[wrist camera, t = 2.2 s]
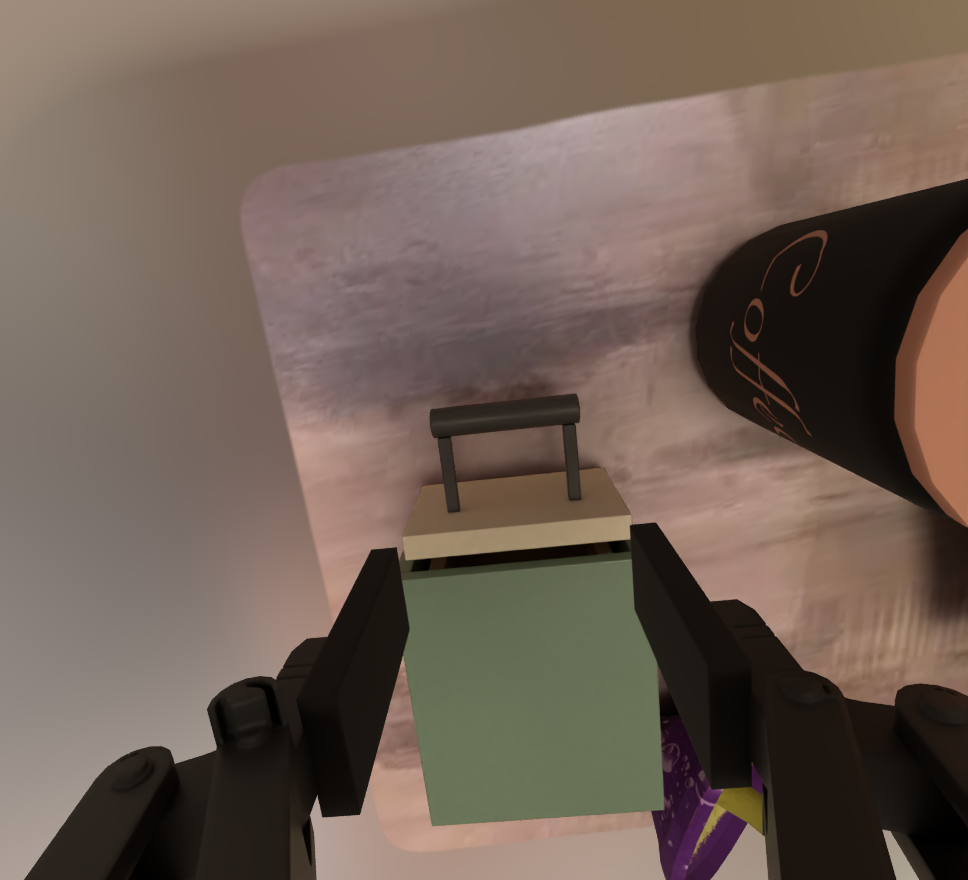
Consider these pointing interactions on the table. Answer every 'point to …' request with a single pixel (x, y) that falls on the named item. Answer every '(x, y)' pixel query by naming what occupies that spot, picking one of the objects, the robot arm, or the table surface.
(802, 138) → the table surface
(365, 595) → the robot arm
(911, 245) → the coffee jar
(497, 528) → the drawer
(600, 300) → the table surface
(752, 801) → the decorative mushroom
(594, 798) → the cabinet
